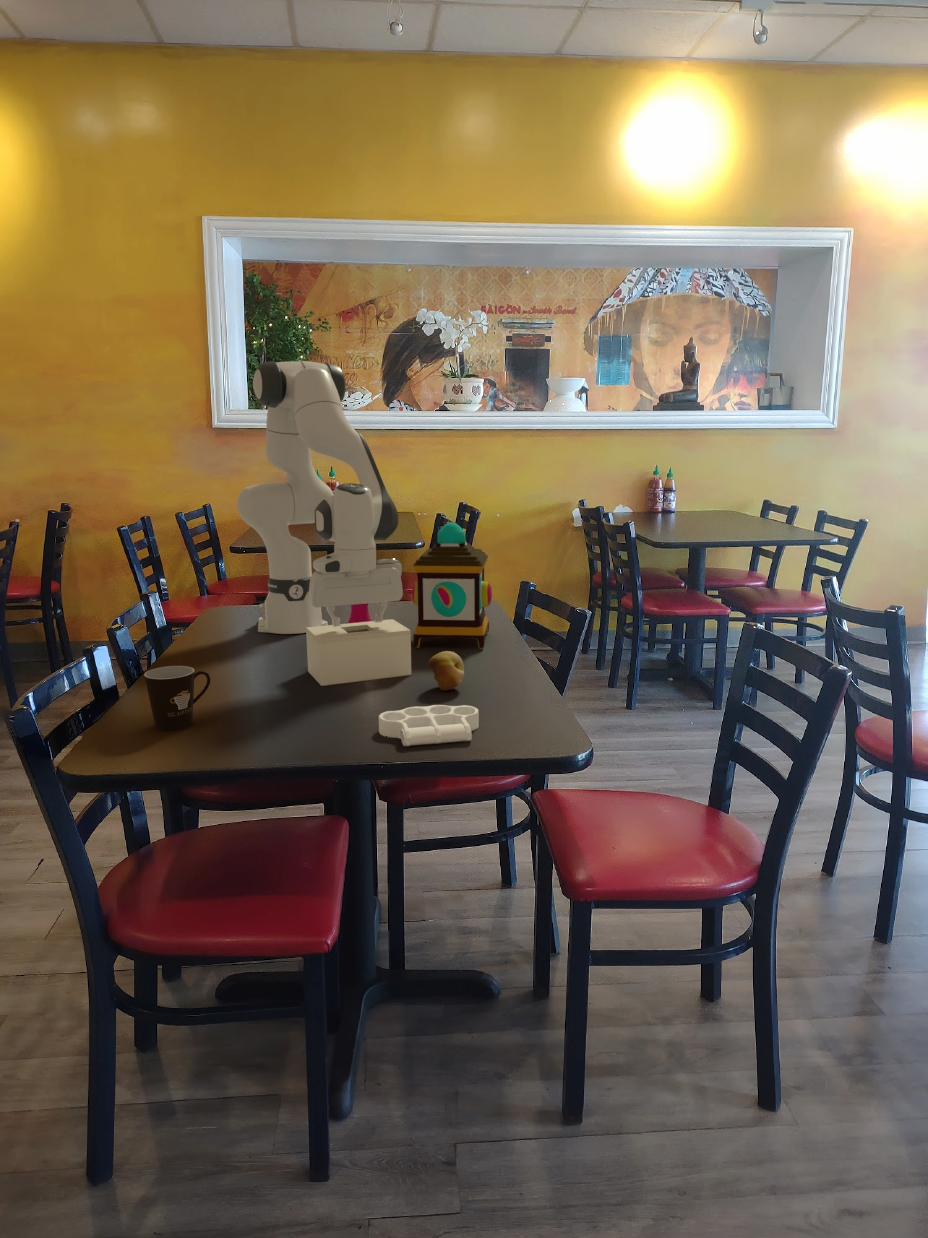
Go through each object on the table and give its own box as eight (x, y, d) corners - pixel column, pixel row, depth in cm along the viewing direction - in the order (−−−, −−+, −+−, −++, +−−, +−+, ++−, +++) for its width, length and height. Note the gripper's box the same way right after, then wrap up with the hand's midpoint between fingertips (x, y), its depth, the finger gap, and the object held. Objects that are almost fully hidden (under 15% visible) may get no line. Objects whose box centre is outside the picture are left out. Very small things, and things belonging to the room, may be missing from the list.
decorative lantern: (494, 632, 226) (494, 518, 219) (489, 651, 207) (489, 526, 200) (419, 631, 228) (417, 517, 221) (407, 649, 209) (404, 526, 202)
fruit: (440, 697, 171) (440, 658, 170) (420, 687, 178) (419, 650, 176) (472, 691, 175) (472, 653, 173) (451, 681, 182) (451, 645, 180)
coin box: (308, 671, 190) (306, 627, 188) (393, 661, 198) (392, 619, 196) (321, 685, 180) (319, 639, 177) (411, 674, 187) (410, 630, 185)
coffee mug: (150, 736, 151) (145, 681, 148) (147, 721, 158) (142, 669, 156) (218, 726, 155) (214, 673, 153) (212, 712, 163) (208, 661, 161)
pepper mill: (370, 654, 204) (368, 571, 200) (341, 653, 205) (338, 571, 201) (379, 647, 211) (377, 566, 207) (351, 646, 212) (348, 566, 208)
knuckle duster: (385, 753, 143) (375, 724, 157) (490, 743, 147) (471, 716, 161) (385, 733, 143) (374, 707, 157) (490, 725, 146) (470, 699, 160)
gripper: (396, 555, 190) (398, 616, 193) (305, 561, 182) (308, 625, 185) (406, 559, 185) (407, 622, 188) (312, 566, 177) (315, 631, 180)
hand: (357, 623), depth 186 cm, fingers open, 8 cm apart
